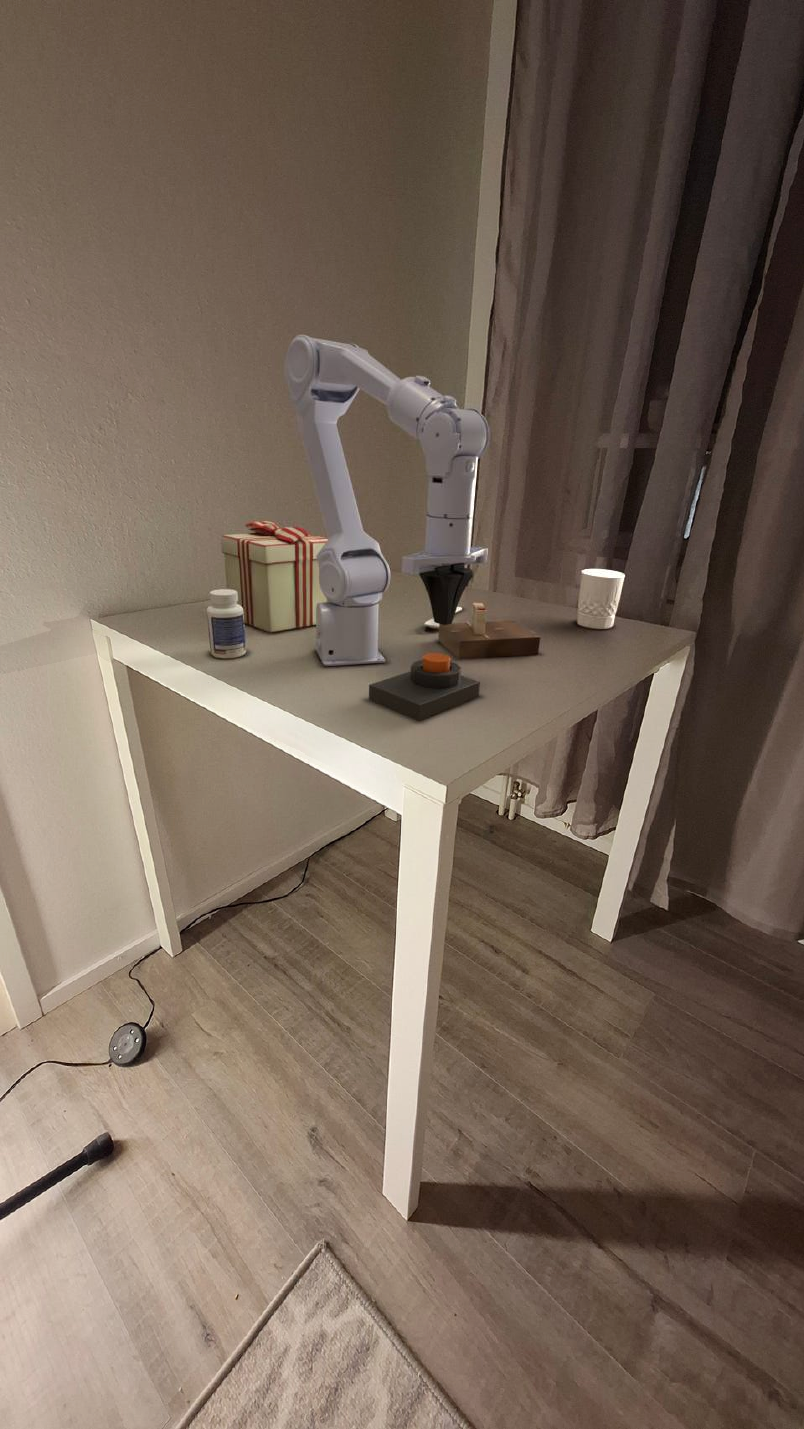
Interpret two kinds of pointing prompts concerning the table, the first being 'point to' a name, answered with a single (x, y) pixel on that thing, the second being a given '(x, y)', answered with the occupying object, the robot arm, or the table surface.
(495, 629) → the dial panel
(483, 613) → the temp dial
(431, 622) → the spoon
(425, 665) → the power button
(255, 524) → the gift box
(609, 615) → the white cup
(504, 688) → the table surface
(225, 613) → the pill bottle
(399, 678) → the button base
